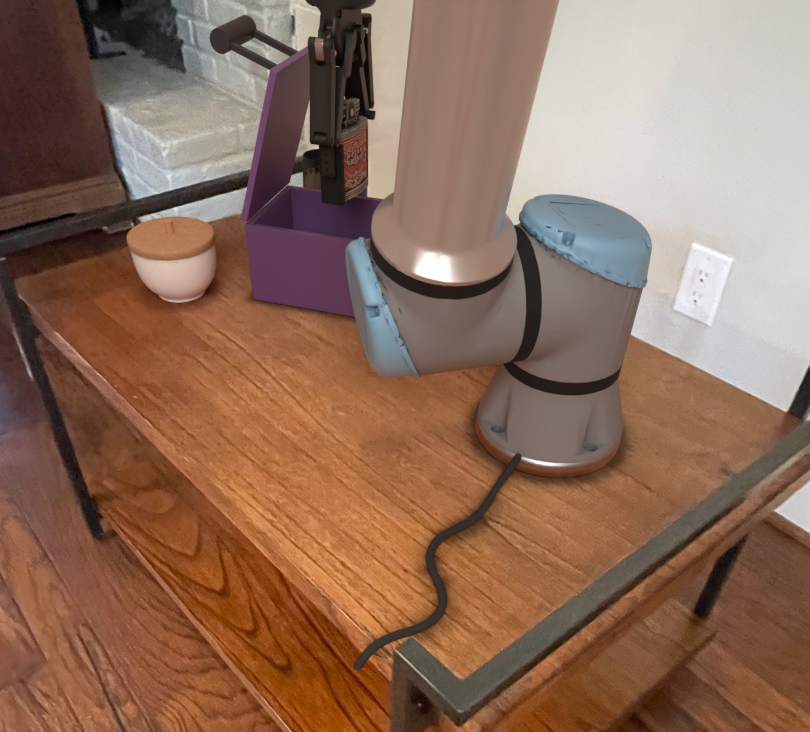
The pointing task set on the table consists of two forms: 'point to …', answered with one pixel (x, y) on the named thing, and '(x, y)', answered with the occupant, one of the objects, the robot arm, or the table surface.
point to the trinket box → (174, 256)
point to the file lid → (270, 110)
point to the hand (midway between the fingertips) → (345, 189)
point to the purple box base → (306, 249)
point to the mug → (311, 169)
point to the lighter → (354, 148)
